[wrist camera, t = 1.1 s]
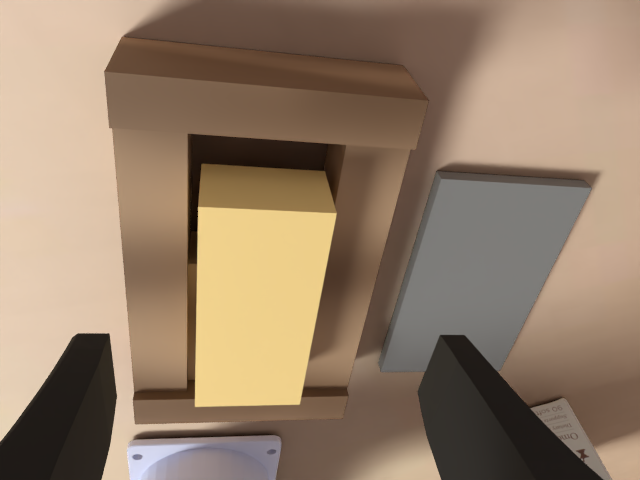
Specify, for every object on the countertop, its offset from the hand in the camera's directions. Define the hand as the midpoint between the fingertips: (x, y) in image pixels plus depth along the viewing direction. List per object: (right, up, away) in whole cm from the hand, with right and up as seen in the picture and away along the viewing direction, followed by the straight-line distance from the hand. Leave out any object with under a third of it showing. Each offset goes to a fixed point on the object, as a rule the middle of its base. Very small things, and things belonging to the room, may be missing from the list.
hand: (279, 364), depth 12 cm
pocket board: (-2, +3, +10) cm, 10 cm away
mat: (+8, +1, +13) cm, 15 cm away
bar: (-1, +2, +8) cm, 9 cm away
